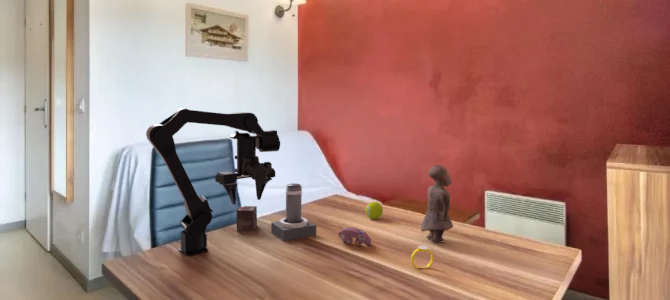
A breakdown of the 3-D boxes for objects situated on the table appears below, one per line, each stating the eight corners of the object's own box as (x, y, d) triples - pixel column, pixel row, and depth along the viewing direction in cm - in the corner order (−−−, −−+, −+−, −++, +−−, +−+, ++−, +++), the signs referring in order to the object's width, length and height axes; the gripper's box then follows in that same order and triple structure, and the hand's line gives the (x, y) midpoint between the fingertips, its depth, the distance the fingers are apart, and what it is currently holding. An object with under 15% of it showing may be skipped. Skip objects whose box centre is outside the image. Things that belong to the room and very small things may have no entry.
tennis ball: (362, 216, 159) (363, 200, 158) (378, 215, 161) (378, 199, 160) (369, 221, 153) (369, 204, 152) (385, 220, 155) (386, 203, 154)
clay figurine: (459, 246, 127) (463, 168, 125) (430, 248, 125) (434, 169, 123) (440, 233, 140) (443, 162, 137) (413, 235, 138) (416, 163, 135)
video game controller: (339, 247, 130) (335, 230, 126) (345, 237, 133) (341, 221, 129) (367, 252, 125) (364, 236, 122) (372, 242, 129) (369, 225, 125)
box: (253, 231, 139) (253, 210, 138) (236, 230, 139) (236, 210, 138) (257, 226, 145) (257, 206, 144) (240, 225, 145) (240, 205, 144)
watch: (430, 266, 112) (432, 246, 111) (433, 271, 109) (436, 249, 108) (409, 265, 111) (411, 245, 110) (412, 269, 108) (414, 248, 108)
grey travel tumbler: (296, 227, 133) (297, 187, 131) (282, 224, 135) (282, 185, 133) (304, 222, 138) (304, 184, 136) (290, 220, 140) (290, 182, 138)
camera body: (283, 241, 129) (283, 226, 129) (271, 232, 138) (271, 219, 137) (316, 235, 136) (316, 221, 135) (302, 227, 144) (302, 214, 144)
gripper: (234, 158, 113) (234, 212, 114) (286, 153, 126) (286, 201, 128) (214, 154, 120) (214, 205, 122) (265, 149, 134) (265, 195, 135)
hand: (246, 201), depth 127 cm, fingers open, 9 cm apart
